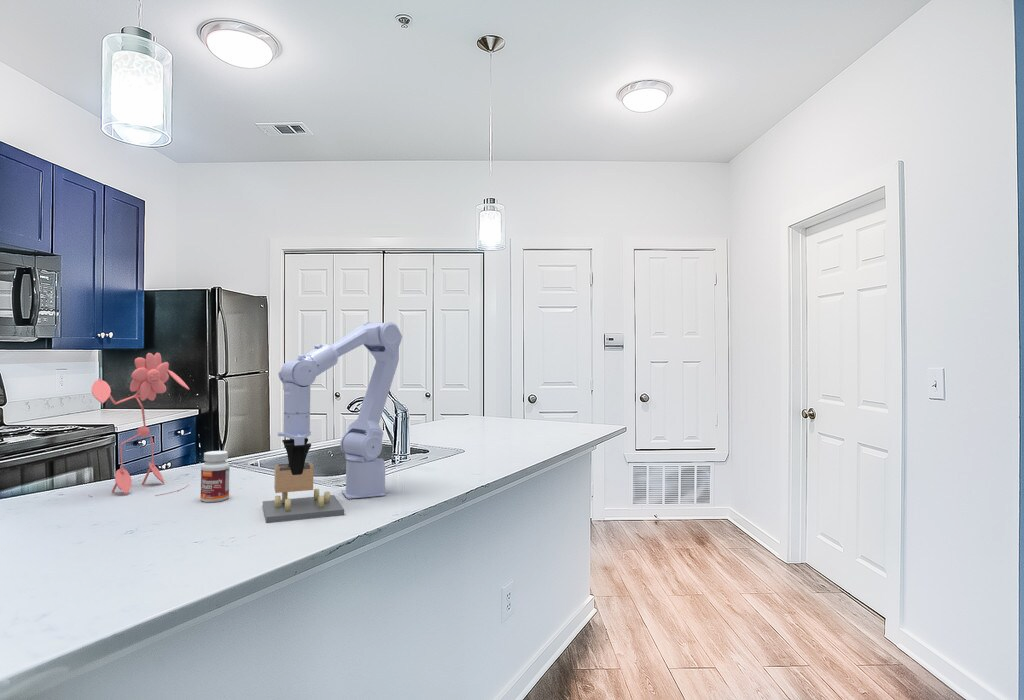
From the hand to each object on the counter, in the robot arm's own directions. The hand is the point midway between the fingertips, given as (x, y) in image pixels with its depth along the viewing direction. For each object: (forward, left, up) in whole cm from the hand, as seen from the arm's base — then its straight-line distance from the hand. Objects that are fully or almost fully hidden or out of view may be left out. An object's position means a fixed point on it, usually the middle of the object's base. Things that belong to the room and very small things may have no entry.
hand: (296, 472), depth 137 cm
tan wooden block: (0, 0, -4) cm, 4 cm away
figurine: (+32, -32, -9) cm, 46 cm away
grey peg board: (-1, +2, -8) cm, 9 cm away
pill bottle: (+17, -16, -9) cm, 25 cm away
